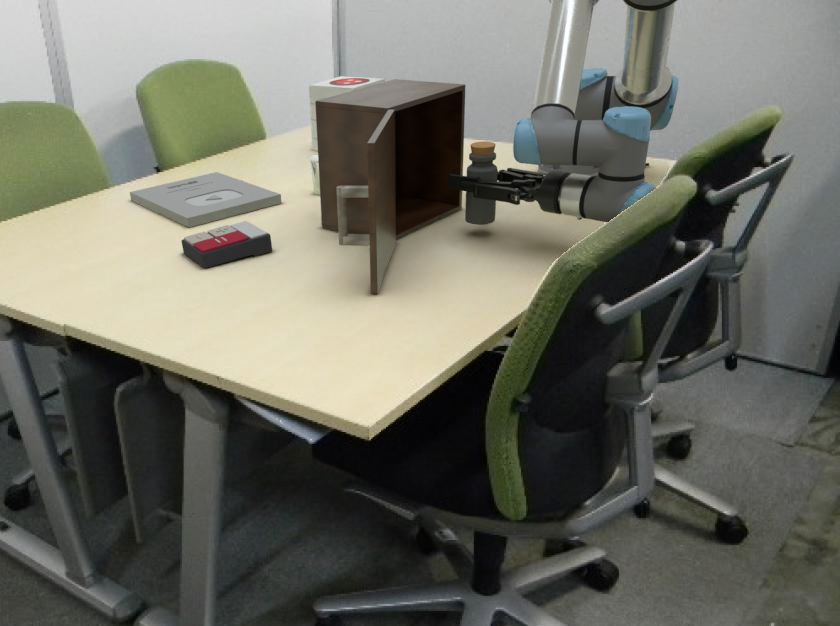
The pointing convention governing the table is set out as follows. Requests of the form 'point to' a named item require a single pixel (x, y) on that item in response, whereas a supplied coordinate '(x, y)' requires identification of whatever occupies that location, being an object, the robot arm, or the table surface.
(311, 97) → the pizza boxes
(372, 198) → the cupboard door
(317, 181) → the milkshake
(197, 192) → the award plaque
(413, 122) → the cupboard
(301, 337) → the table surface
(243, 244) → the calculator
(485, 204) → the bottle
